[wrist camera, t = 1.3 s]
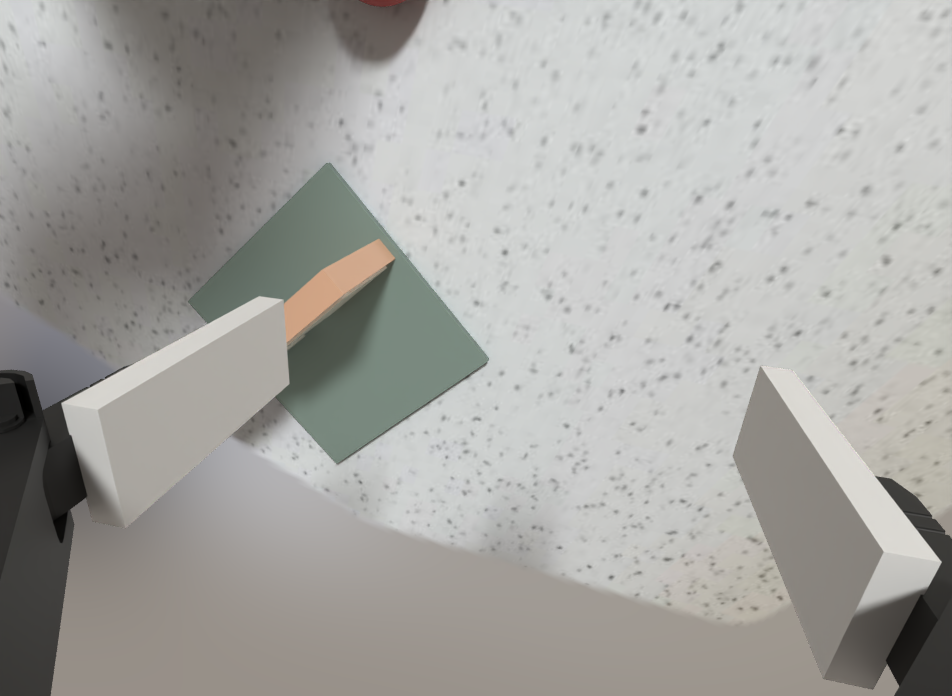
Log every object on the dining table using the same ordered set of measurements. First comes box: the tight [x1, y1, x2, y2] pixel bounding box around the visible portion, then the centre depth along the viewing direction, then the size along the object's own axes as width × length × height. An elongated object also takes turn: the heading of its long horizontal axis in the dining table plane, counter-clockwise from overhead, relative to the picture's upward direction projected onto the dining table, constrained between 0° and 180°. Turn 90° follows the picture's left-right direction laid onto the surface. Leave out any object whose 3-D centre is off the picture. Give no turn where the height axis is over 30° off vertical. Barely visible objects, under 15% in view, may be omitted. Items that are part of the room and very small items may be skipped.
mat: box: [188, 163, 489, 463], centre depth 43 cm, size 18×17×1 cm
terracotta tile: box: [284, 239, 395, 346], centre depth 37 cm, size 2×7×9 cm, turn 129°
